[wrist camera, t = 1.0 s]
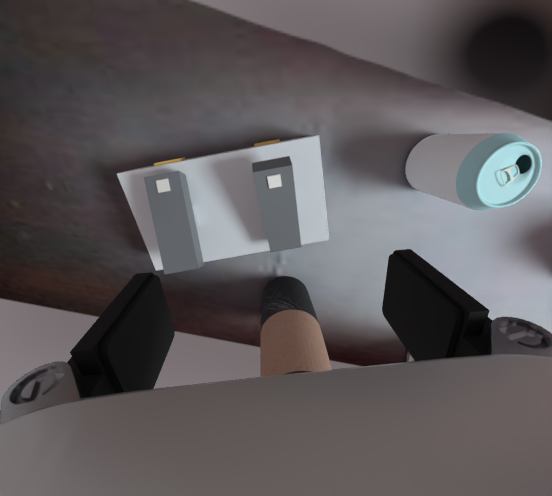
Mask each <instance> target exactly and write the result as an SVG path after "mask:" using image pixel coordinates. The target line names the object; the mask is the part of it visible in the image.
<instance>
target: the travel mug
mask: <svg viewBox="0 0 552 496" xmlns="http://www.w3.org/2000/svg"><path fill="white" fill-rule="evenodd" d="M323 370H332V367H331V364H330V360H329V357H328V353H327V350H326V346H325V343H324V339H323V336H322V332H321V329H320V326H319V322H318V320H317V317H316V314H315V311H314V308H313V305H312V302H311V300H310V297H309V294H308V291H307V289H306V287H305V285H304V284H303V283H302V282H301V281H299V280H298V279H296V278H293V277H280V278H277V279H274V280H273V281H271V282H270V283H269V284H268V285H267V286H266V288H265V290H264V292H263V300H262V317H261V377H266V376H276V375H285V374H295V373H304V372H314V371H323Z"/></svg>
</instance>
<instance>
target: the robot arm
mask: <svg viewBox="0 0 552 496" xmlns="http://www.w3.org/2000/svg"><path fill="white" fill-rule="evenodd" d="M382 311H383V315H384V317H385V318H386V320H387V321H388V323H389V324H390V326H391V327H392V329H393V330H394V331H395V333H396V334H397V336H398V337H399V339H400V340H401V342H402V343H403V345H404V346H405V347H406V349H407V350H408V353H407V356H406V362H403V363H393V364H383V365H373V366H363V367H353V368H343V369H334V370H323V371H314V372H304V373H295V374H285V375H276V376H266V377H257V378H248V379H239V380H230V381H221V382H212V383H203V384H194V385H186V386H176V387H167V388H159V389H153V388H154V386H155V383H156V380H157V378H158V376H159V373H160V371H161V368H162V366H163V363H164V361H165V358H166V356H167V353H168V351H169V348H170V346H171V343H172V341H173V338H174V326H173V323H172V319H171V316H170V313H169V309H168V306H167V302H166V299H165V296H164V292H163V289H162V285H161V282H160V279H159V277H158V276H155V275H154V274H153V273H152V272H151V273H140V274H136V275H134V277H133V278H132V279H131V280H130V281H129V283H128V284H127V285H126V286H125V287H124V289H123V290H122V291H121V292H120V293H119V294H118V296H117V297H116V298H115V299H114V300H113V302H112V303H111V304H110V305H109V306H108V308H107V309H106V310H105V311H104V312H103V314H102V315H101V316H100V317H99V318H98V319H97V321H96V322H95V323H94V324H93V325H92V327H91V328H90V329H89V330H88V332H87V333H86V334H85V335H84V336H83V337H82V339H81V340H80V341H79V342H78V343H77V345H76V346H75V347H74V348H73V349H72V350H71V352H70V353H71V355H72V357H71V359H70V360H69V361H68V362H67V363H66V362H52V363H48V364H45V365H43V366H40V367H38V368H35V369H34V370H32V371H30V372H28V373H27V374H25V375H24V376H22V377H21V378H19V379H18V380H17V381H16V382H14V383H13V384H12V385H11V386H10V387H9V388H8V390H7V391H6V392H5V394H4V395H3V397H2V401H1V410H0V496H552V334H551V333H550V332H549V331H547V330H546V329H544V328H543V327H541V326H539V325H536V324H534V323H532V322H529V321H526V320H523V319H519V318H514V317H499V318H496V319H494V320H493V321H492V320H491V319H490V318H488V317H487V316H488V313H489V310H488V309H487V308H486V307H484V306H483V305H482V304H480V303H479V302H478V301H477V300H475V299H474V298H473V297H471V296H470V295H469V294H468V293H466V292H465V291H464V290H462V289H461V288H460V287H459V286H457V285H456V284H455V283H453V282H452V281H451V280H449V279H448V278H447V277H446V276H444V275H443V274H442V273H440V272H439V271H438V270H437V269H435V268H434V267H433V266H431V265H430V264H429V263H428V262H426V261H425V260H424V259H422V258H421V257H420V256H418V255H417V254H416V253H415V252H413V251H412V250H410V249H407V250H396V251H394V252H393V254H391V255H390V256H389V260H388V268H387V276H386V283H385V291H384V299H383V306H382Z"/></svg>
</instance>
